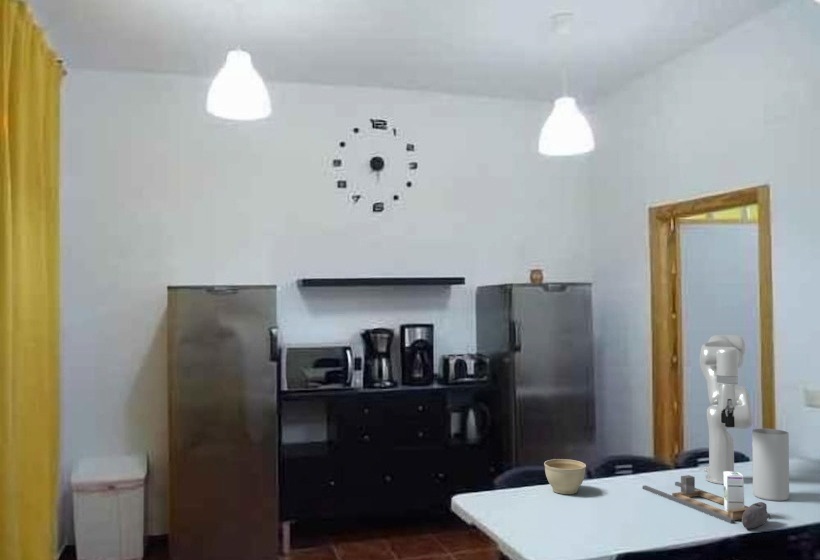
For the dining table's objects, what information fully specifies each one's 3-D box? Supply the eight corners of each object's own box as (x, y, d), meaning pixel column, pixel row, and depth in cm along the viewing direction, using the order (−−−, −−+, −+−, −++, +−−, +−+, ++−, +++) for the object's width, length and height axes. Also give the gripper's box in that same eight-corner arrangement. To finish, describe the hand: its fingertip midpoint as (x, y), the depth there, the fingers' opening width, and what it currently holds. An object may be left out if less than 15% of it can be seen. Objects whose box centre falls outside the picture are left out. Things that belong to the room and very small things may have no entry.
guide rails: (642, 488, 285) (642, 485, 285) (678, 484, 291) (678, 481, 291) (730, 523, 242) (730, 519, 242) (770, 517, 248) (770, 514, 248)
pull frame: (671, 496, 273) (671, 477, 273) (698, 493, 277) (698, 474, 278) (732, 520, 244) (732, 498, 244) (761, 516, 249) (761, 494, 249)
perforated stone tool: (750, 533, 233) (750, 511, 233) (735, 529, 237) (735, 508, 237) (772, 523, 242) (772, 503, 242) (756, 520, 246) (756, 499, 246)
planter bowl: (540, 494, 277) (540, 466, 277) (548, 484, 292) (548, 457, 292) (582, 499, 271) (582, 470, 271) (588, 488, 286) (588, 461, 286)
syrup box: (745, 517, 249) (744, 475, 249) (727, 516, 250) (726, 474, 250) (740, 512, 254) (740, 471, 255) (723, 511, 256) (722, 470, 256)
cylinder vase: (793, 496, 274) (792, 431, 275) (783, 503, 265) (783, 436, 265) (758, 490, 283) (758, 427, 283) (748, 497, 273) (747, 431, 274)
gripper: (713, 378, 284) (714, 421, 283) (720, 382, 267) (720, 428, 267) (733, 378, 282) (734, 422, 281) (741, 382, 265) (742, 429, 265)
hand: (727, 425), depth 274 cm, fingers open, 9 cm apart
